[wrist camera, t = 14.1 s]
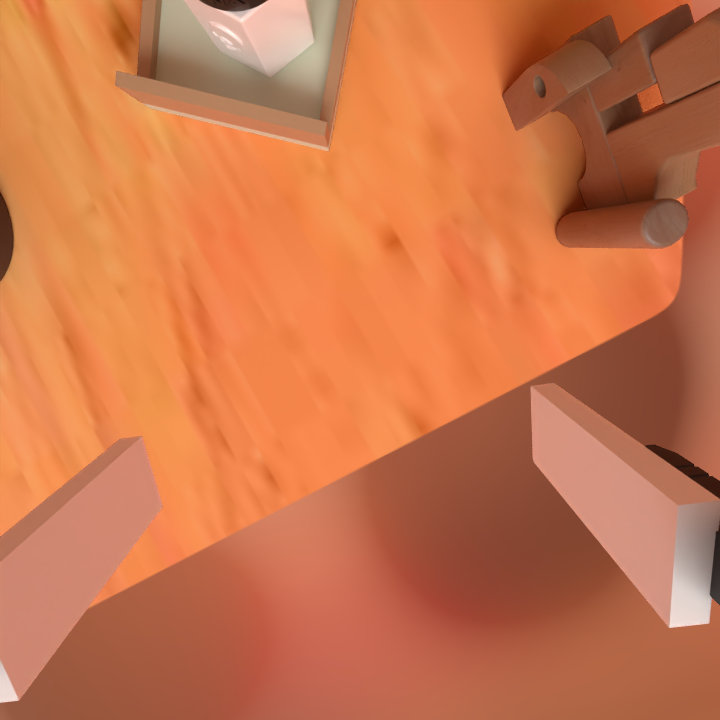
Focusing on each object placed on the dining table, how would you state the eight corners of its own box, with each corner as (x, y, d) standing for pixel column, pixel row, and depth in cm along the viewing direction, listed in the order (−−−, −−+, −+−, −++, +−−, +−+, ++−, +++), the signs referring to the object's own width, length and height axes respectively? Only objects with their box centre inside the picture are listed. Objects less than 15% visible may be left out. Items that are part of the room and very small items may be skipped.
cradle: (149, 108, 37) (115, 85, 32) (165, -86, 34) (129, -148, 28) (329, 151, 38) (324, 136, 33) (362, -33, 35) (363, -83, 29)
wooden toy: (496, 93, 37) (758, -189, 13) (568, 51, 36) (990, -334, 12) (561, 253, 41) (860, 266, 17) (628, 218, 40) (1044, 178, 16)
